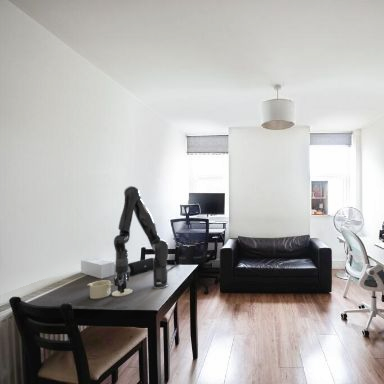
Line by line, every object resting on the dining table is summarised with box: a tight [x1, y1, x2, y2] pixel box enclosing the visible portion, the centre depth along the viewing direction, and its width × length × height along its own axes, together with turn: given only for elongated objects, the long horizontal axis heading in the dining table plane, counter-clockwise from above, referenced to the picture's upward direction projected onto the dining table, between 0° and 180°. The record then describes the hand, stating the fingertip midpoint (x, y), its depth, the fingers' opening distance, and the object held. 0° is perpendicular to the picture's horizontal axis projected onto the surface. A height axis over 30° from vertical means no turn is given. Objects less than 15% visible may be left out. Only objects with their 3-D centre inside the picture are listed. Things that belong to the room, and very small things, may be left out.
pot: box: [87, 279, 114, 300], centre depth 172 cm, size 11×17×8 cm
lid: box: [111, 282, 133, 297], centre depth 175 cm, size 12×12×7 cm
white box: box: [80, 257, 115, 280], centre depth 221 cm, size 32×11×11 cm, turn 58°
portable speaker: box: [127, 257, 155, 276], centre depth 224 cm, size 26×10×10 cm, turn 148°
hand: (122, 289), depth 175 cm, fingers open, 4 cm apart
